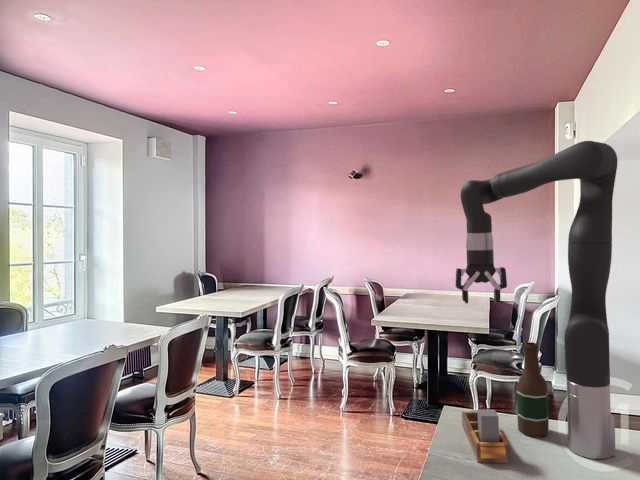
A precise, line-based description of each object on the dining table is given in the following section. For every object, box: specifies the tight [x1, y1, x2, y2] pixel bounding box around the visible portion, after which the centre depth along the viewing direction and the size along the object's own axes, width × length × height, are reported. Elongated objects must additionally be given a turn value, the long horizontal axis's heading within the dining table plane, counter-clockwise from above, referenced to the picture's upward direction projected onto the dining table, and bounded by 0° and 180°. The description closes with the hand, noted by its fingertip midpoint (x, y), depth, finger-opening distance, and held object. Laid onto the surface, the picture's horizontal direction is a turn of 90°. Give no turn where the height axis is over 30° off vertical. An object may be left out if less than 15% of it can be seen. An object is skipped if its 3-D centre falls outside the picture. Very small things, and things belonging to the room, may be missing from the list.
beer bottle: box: [516, 341, 549, 438], centre depth 124 cm, size 8×8×24 cm
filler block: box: [477, 408, 500, 442], centre depth 113 cm, size 4×4×10 cm
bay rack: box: [461, 411, 510, 464], centre depth 119 cm, size 7×21×4 cm, turn 173°
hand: (481, 302), depth 137 cm, fingers open, 8 cm apart
